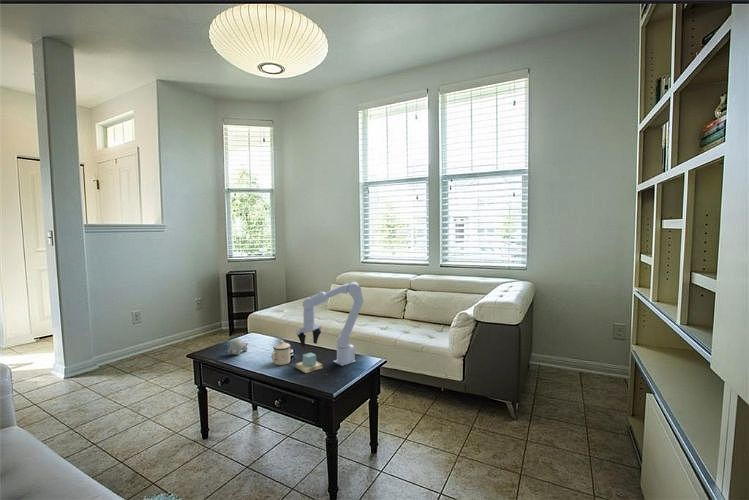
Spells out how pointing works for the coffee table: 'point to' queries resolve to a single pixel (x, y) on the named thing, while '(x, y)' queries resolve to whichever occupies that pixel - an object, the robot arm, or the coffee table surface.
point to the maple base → (308, 369)
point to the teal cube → (309, 359)
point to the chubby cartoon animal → (237, 347)
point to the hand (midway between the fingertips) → (309, 344)
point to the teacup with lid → (281, 353)
